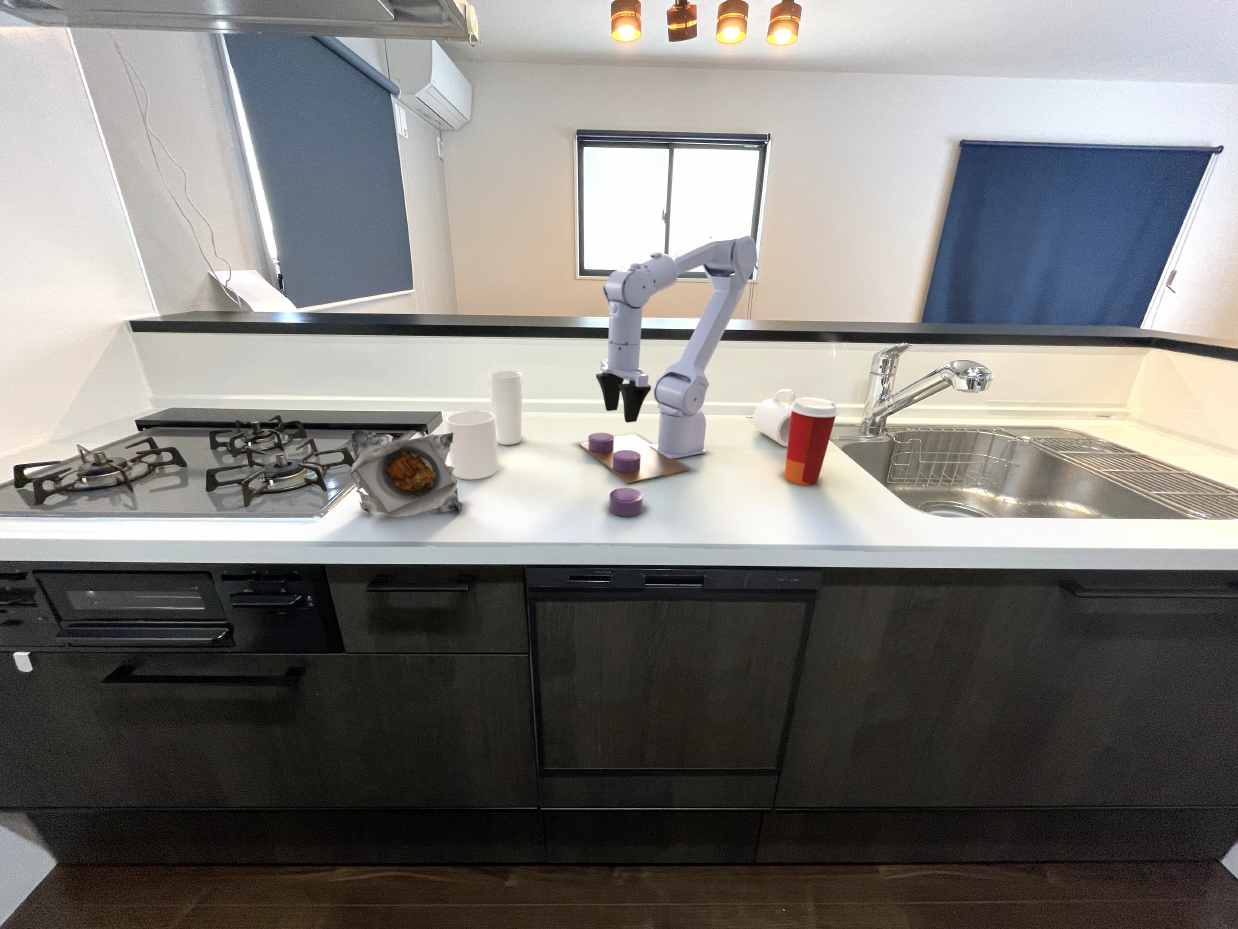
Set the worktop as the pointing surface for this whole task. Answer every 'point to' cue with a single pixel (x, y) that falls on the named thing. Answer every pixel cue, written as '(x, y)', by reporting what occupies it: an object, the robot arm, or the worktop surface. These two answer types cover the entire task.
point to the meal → (404, 474)
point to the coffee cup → (808, 438)
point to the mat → (650, 460)
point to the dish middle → (626, 461)
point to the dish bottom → (625, 502)
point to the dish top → (601, 442)
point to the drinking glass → (507, 405)
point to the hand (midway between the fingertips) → (620, 415)
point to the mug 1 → (473, 444)
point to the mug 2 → (775, 417)
